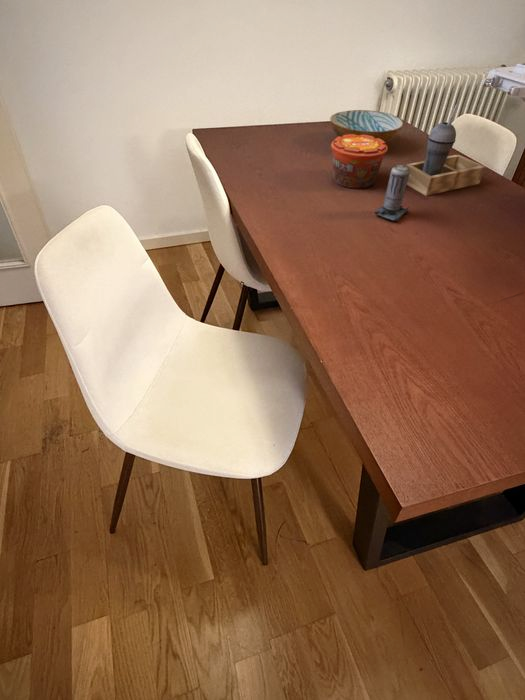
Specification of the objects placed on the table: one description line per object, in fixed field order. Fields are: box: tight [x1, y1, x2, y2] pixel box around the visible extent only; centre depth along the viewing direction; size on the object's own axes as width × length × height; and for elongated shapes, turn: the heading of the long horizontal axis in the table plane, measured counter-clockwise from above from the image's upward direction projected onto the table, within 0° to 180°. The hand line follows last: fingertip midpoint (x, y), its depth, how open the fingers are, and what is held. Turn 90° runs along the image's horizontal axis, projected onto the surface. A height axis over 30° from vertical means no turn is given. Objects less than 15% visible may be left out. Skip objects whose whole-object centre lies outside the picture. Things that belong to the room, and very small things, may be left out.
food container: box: [330, 134, 389, 190], centre depth 117 cm, size 16×16×11 cm
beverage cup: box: [423, 104, 458, 176], centre depth 111 cm, size 7×7×20 cm
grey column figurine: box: [374, 164, 410, 223], centre depth 101 cm, size 9×8×12 cm
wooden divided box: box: [404, 154, 486, 197], centre depth 119 cm, size 21×11×5 cm, turn 115°
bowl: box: [329, 109, 405, 145], centre depth 141 cm, size 25×25×8 cm
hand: (497, 86), depth 103 cm, fingers open, 8 cm apart
